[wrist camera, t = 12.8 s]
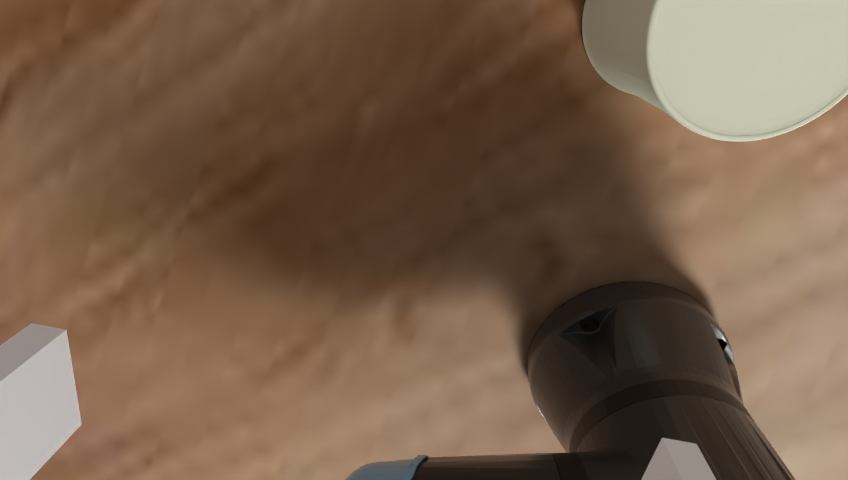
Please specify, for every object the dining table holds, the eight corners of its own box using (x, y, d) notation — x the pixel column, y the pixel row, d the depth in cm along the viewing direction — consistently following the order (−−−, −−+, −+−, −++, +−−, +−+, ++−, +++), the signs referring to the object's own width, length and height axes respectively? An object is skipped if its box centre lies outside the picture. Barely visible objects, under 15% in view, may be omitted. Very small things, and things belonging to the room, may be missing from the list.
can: (728, -112, 26) (911, -185, 16) (757, 56, 30) (924, 89, 19) (560, -28, 29) (620, -43, 18) (606, 118, 32) (679, 180, 21)
